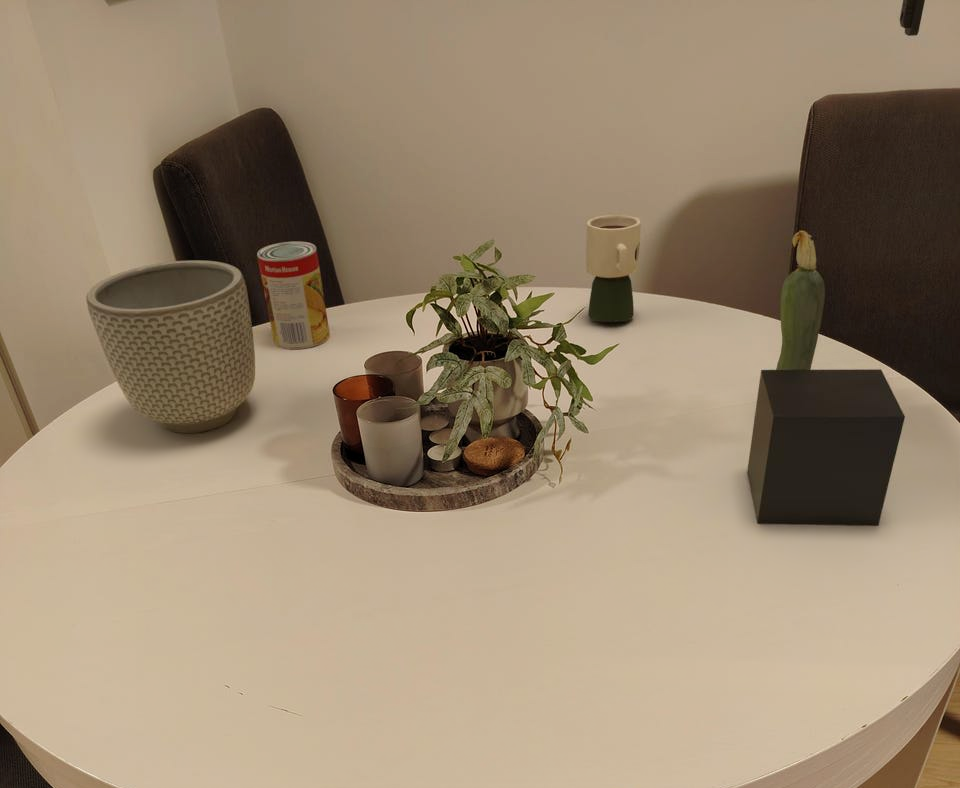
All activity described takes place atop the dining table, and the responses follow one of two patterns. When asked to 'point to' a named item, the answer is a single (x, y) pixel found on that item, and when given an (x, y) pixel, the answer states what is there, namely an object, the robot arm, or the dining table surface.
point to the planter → (178, 340)
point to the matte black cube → (823, 446)
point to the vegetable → (801, 308)
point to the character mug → (612, 265)
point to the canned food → (294, 294)
